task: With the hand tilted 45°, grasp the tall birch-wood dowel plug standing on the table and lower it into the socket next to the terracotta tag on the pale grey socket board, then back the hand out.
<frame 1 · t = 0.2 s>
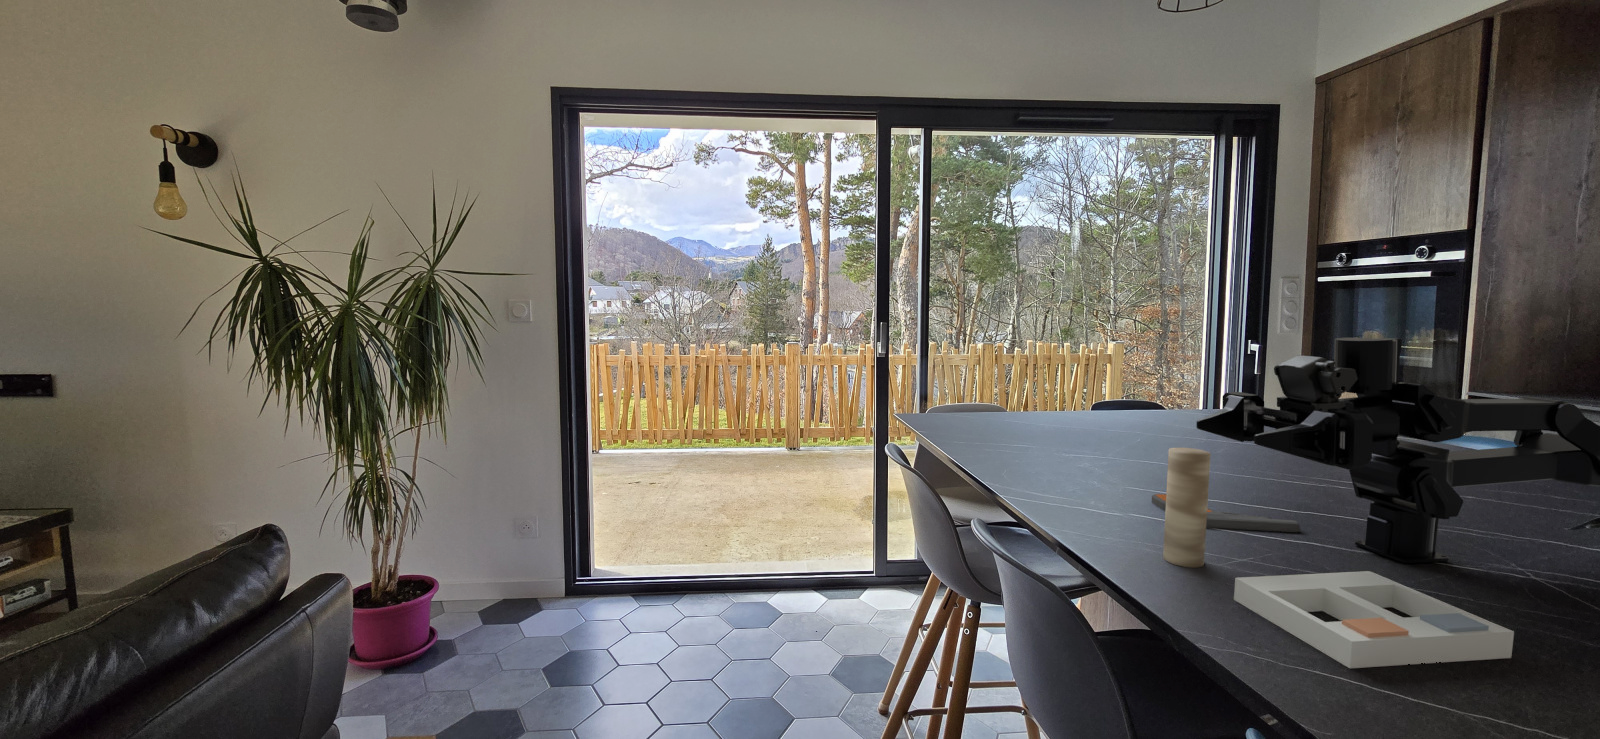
hand: (1224, 431, 76), 17 cm above the table, tool horizontal, fingers open, 9 cm apart
plug: (1183, 560, 78), on the table
socket board: (1359, 626, 62), on the table
orange-tipped hinged bar: (1218, 520, 95), on the table
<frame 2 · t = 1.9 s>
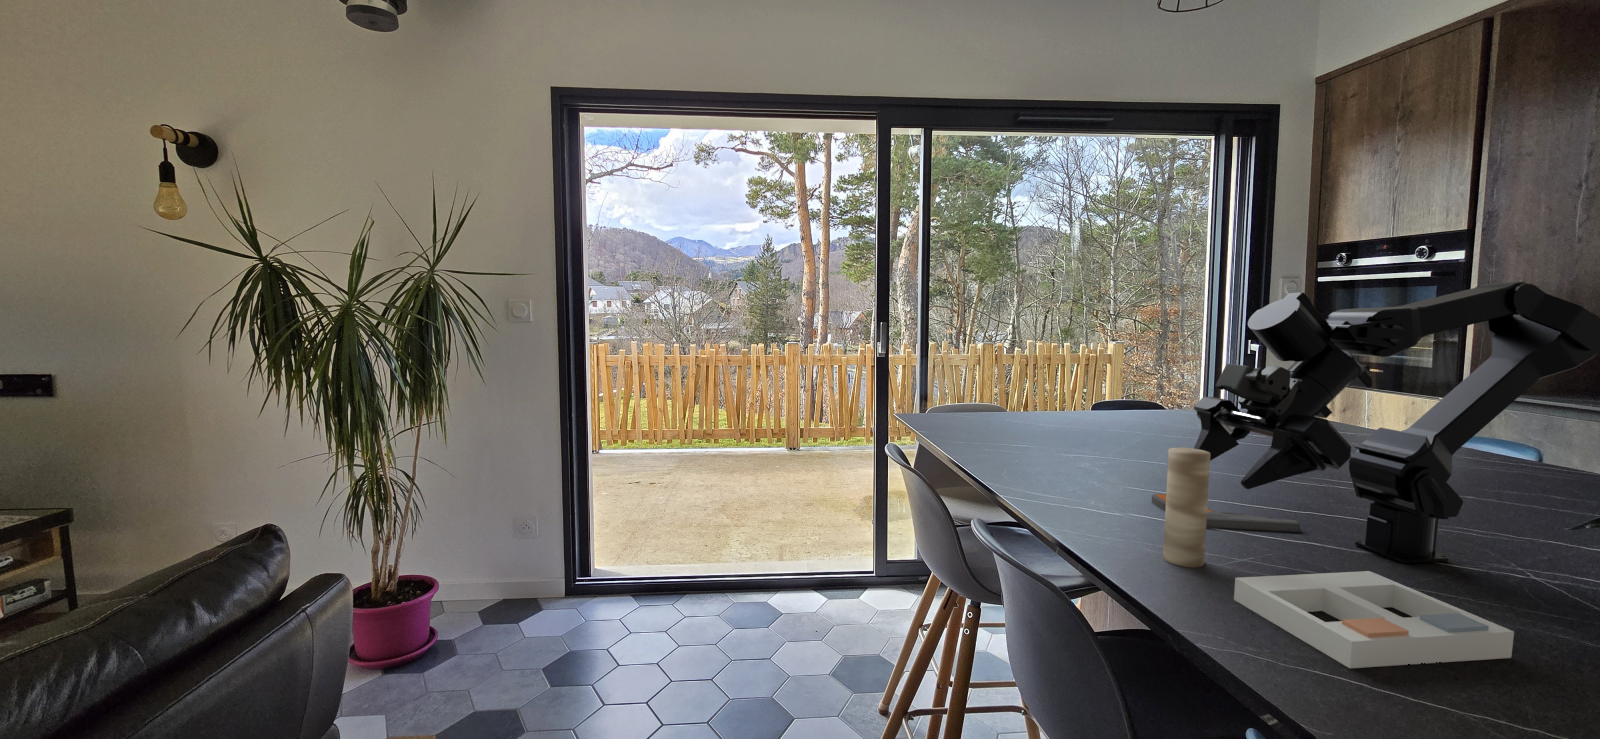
hand: (1215, 475, 77), 11 cm above the table, tool tilted 45°, fingers open, 9 cm apart
nothing on the table moved.
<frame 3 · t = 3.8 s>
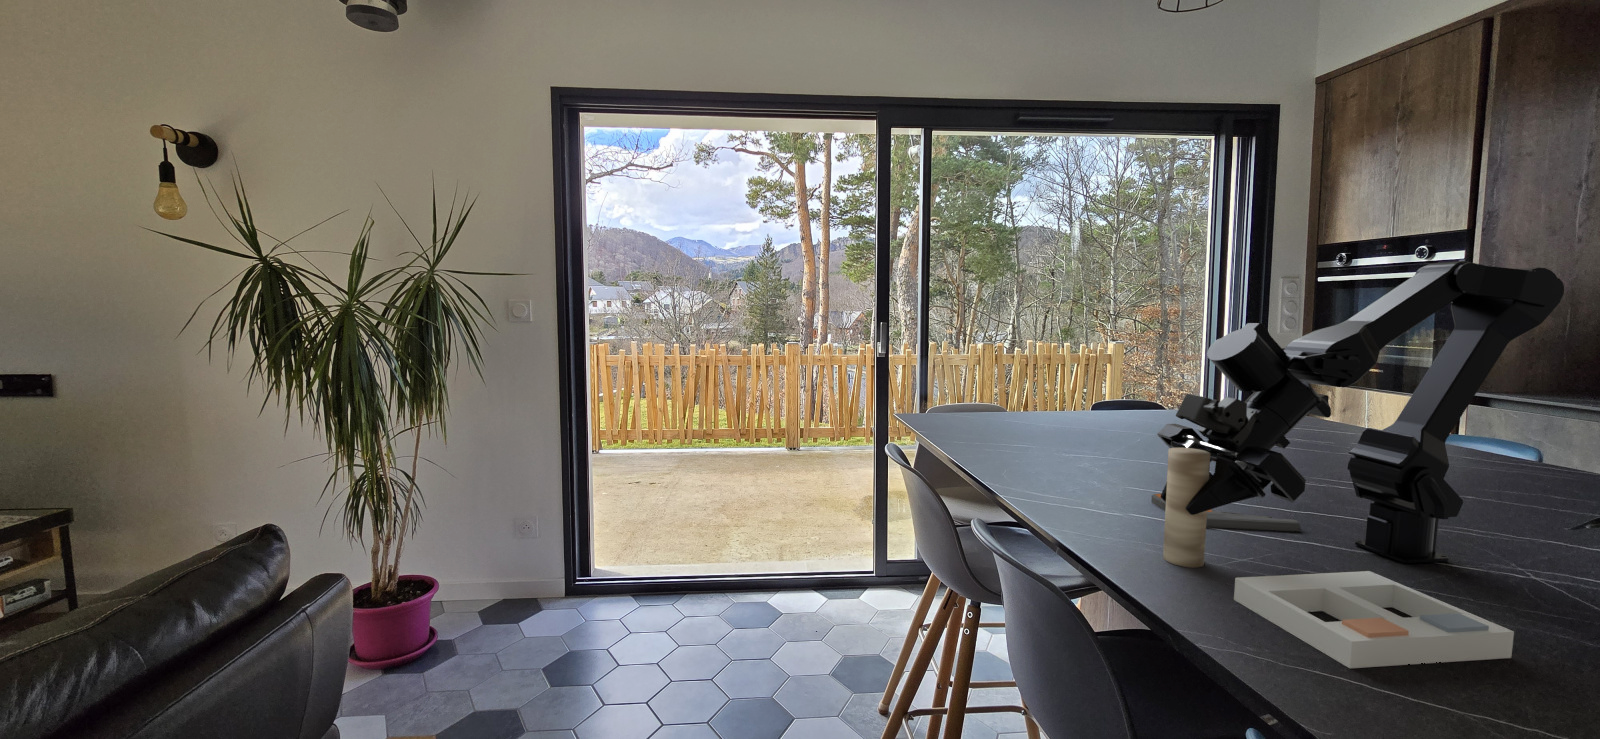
hand: (1175, 505, 77), 7 cm above the table, tool tilted 45°, fingers closed on plug, 4 cm apart
plug: (1183, 560, 78), on the table, touching gripper
everything else where it was.
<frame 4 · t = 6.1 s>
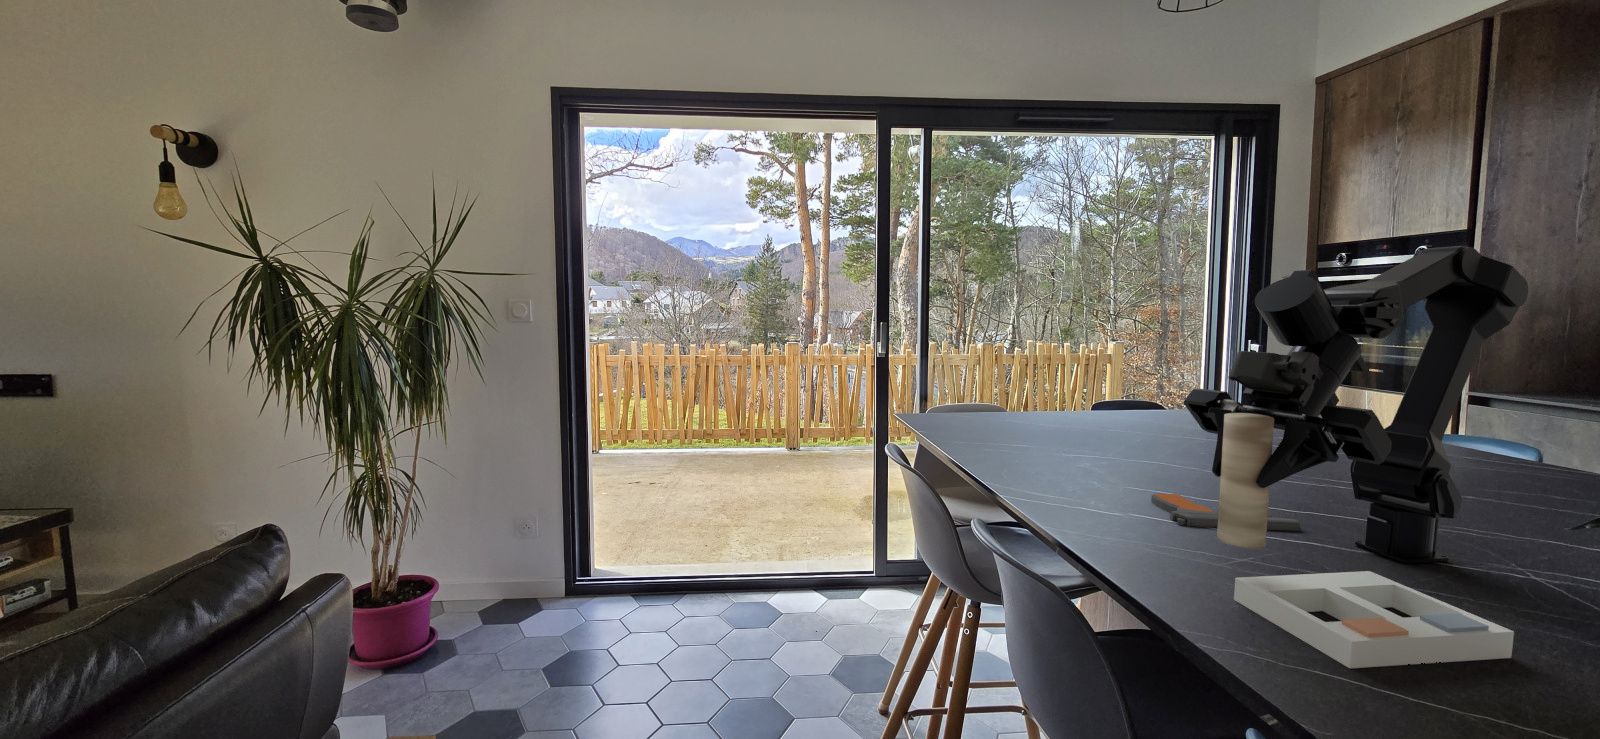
hand: (1236, 479, 67), 13 cm above the table, tool tilted 45°, fingers closed on plug, 4 cm apart
plug: (1240, 540, 69), point 6 cm above the table, touching gripper
everything else where it was.
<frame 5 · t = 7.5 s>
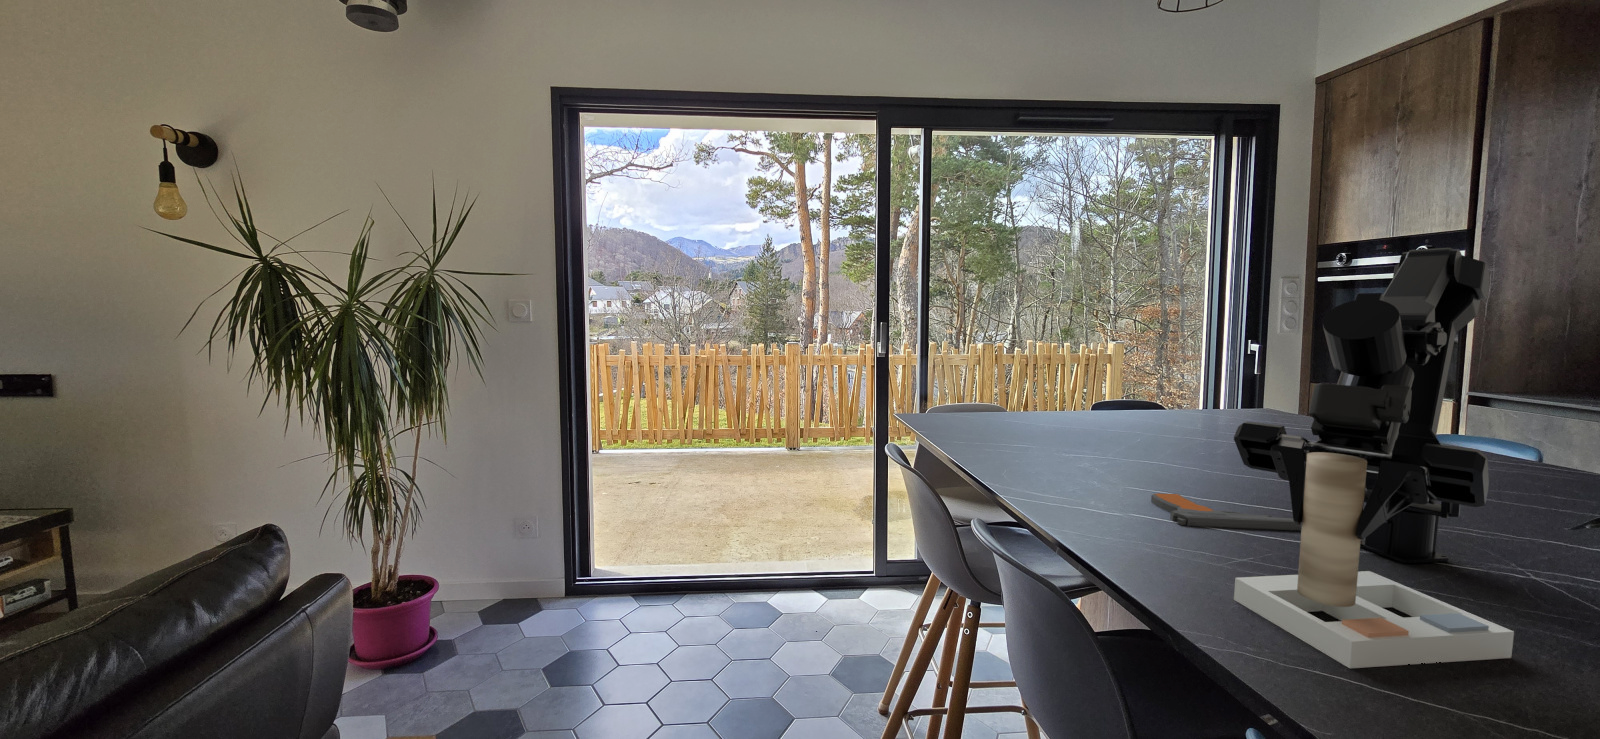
hand: (1326, 529, 60), 10 cm above the table, tool tilted 45°, fingers closed on plug, 4 cm apart
plug: (1325, 596, 61), point 3 cm above the table, touching gripper
everything else where it was.
when the fingers open (9 cm above the table, at t = 8.5 s): plug drops 2 cm, resting in socket board.
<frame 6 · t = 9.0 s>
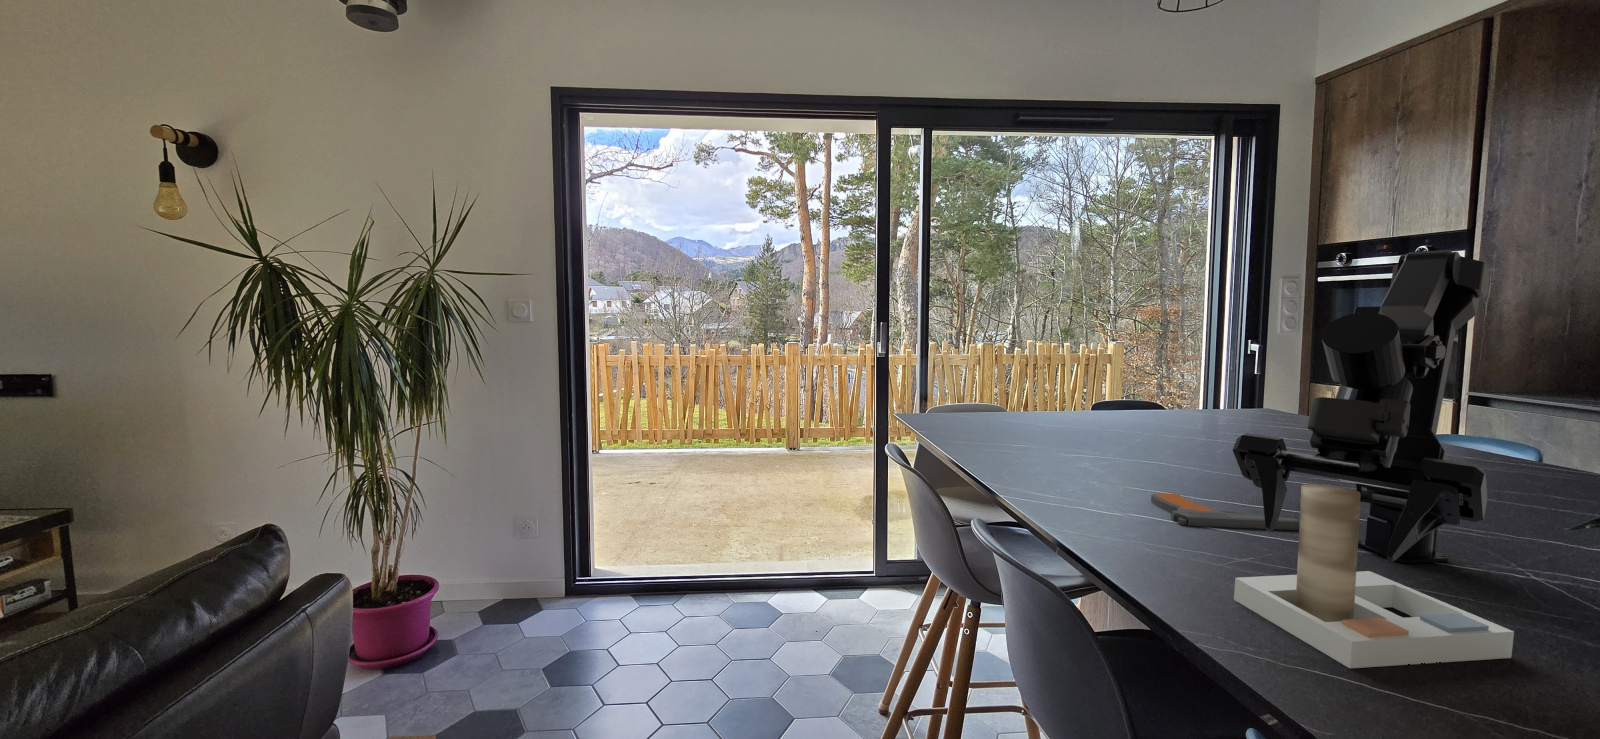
hand: (1325, 543, 60), 9 cm above the table, tool tilted 45°, fingers open, 9 cm apart
plug: (1323, 627, 61), resting in socket board
everything else where it was.
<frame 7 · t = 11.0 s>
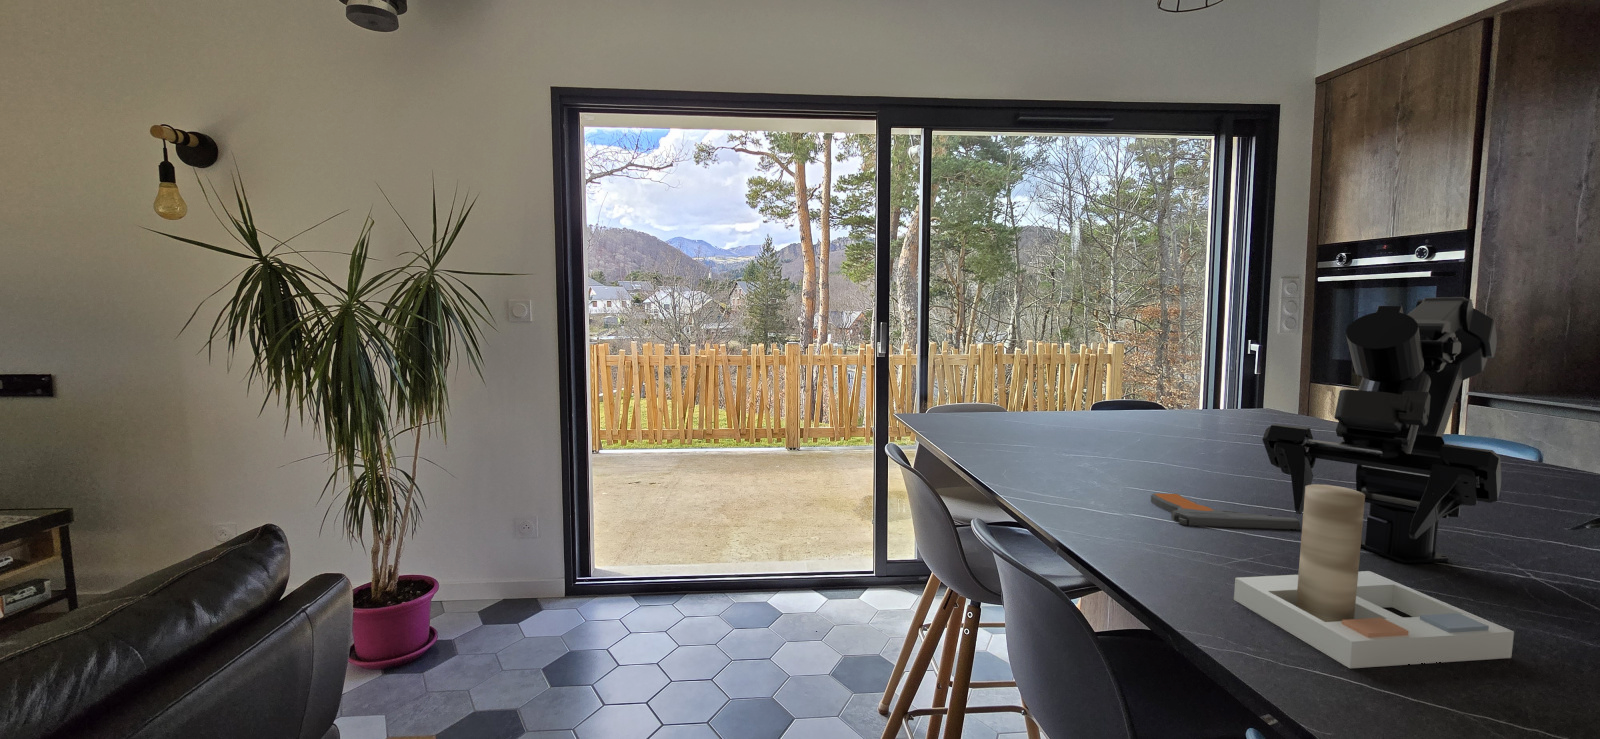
hand: (1351, 523, 65), 9 cm above the table, tool tilted 45°, fingers open, 9 cm apart
nothing on the table moved.
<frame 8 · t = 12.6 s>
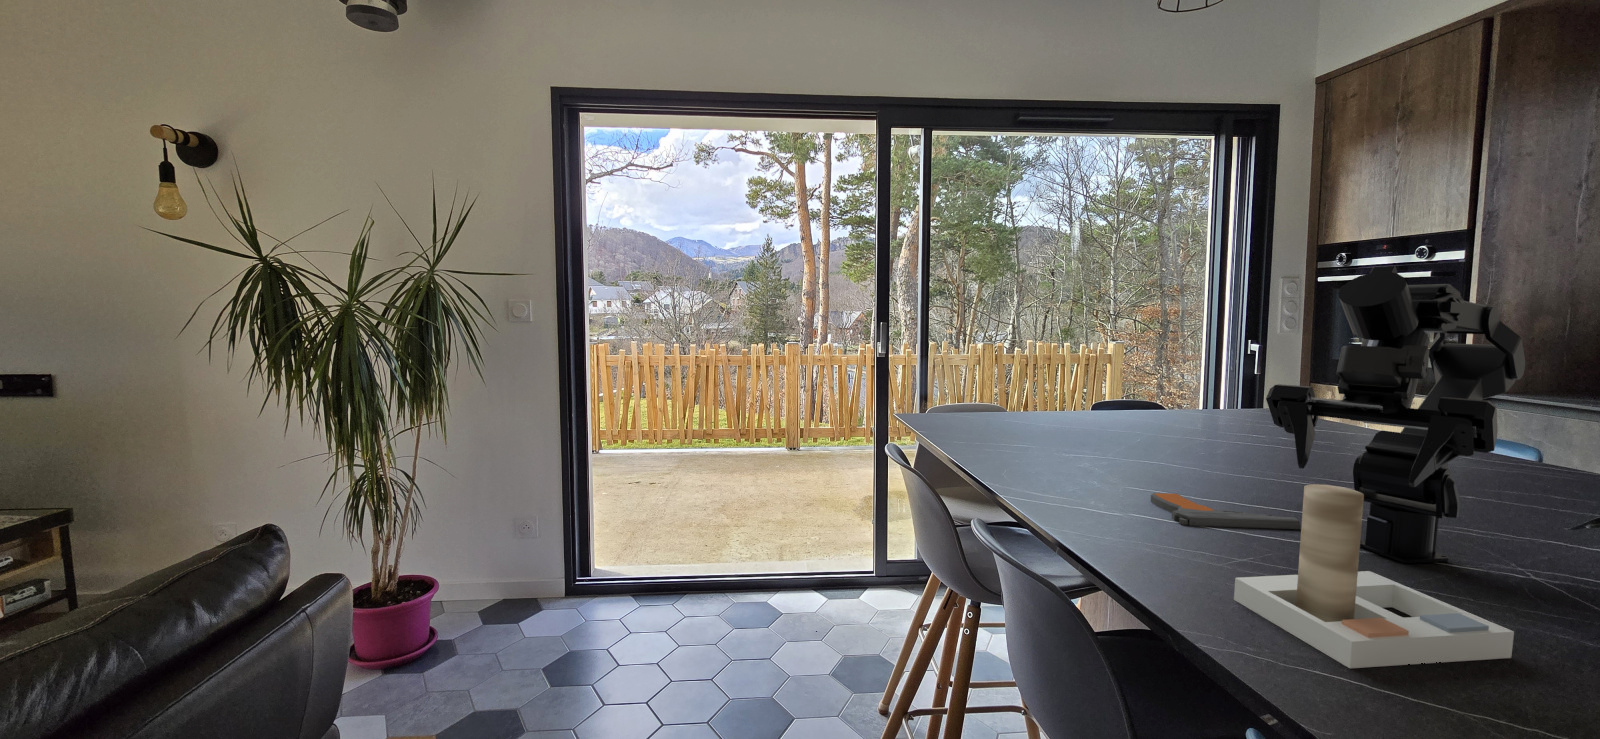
hand: (1352, 475, 67), 14 cm above the table, tool tilted 45°, fingers open, 9 cm apart
nothing on the table moved.
at the end: plug 0.0 cm from the target spot, resting in socket board; plug tilted 0°; the gripper is holding nothing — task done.
